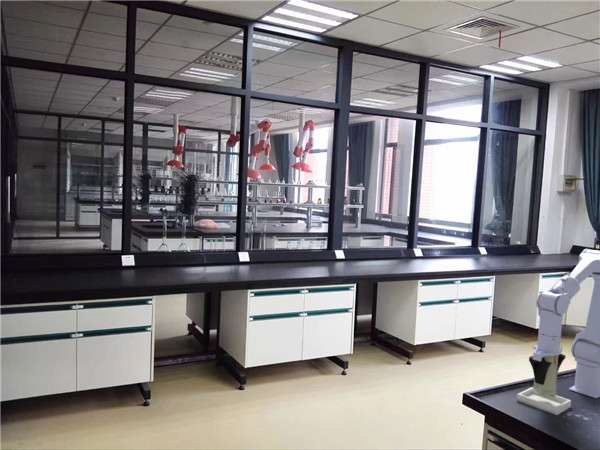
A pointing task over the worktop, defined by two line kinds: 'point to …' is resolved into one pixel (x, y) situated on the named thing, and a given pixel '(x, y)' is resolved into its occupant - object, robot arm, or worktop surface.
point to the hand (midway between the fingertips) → (545, 380)
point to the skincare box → (548, 379)
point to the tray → (544, 401)
